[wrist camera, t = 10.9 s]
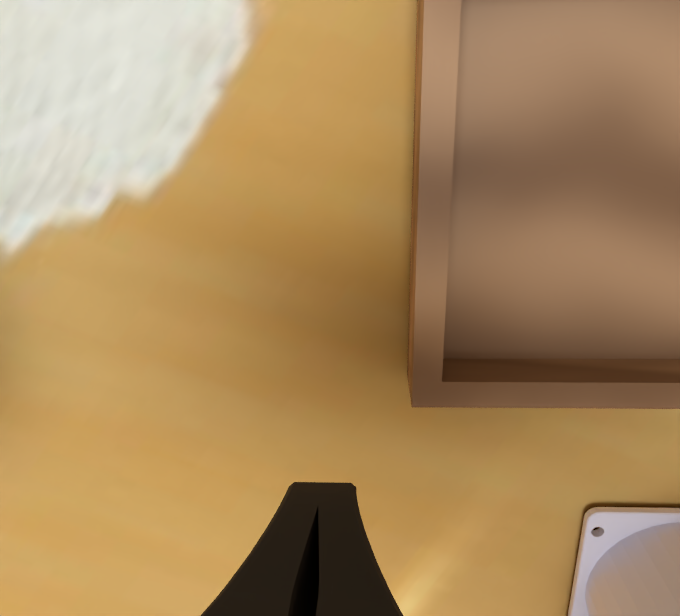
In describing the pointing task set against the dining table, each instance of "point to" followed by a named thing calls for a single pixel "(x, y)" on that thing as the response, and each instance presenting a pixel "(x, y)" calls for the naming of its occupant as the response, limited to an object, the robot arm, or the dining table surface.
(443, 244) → the walnut box
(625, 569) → the robot arm
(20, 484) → the dining table surface
